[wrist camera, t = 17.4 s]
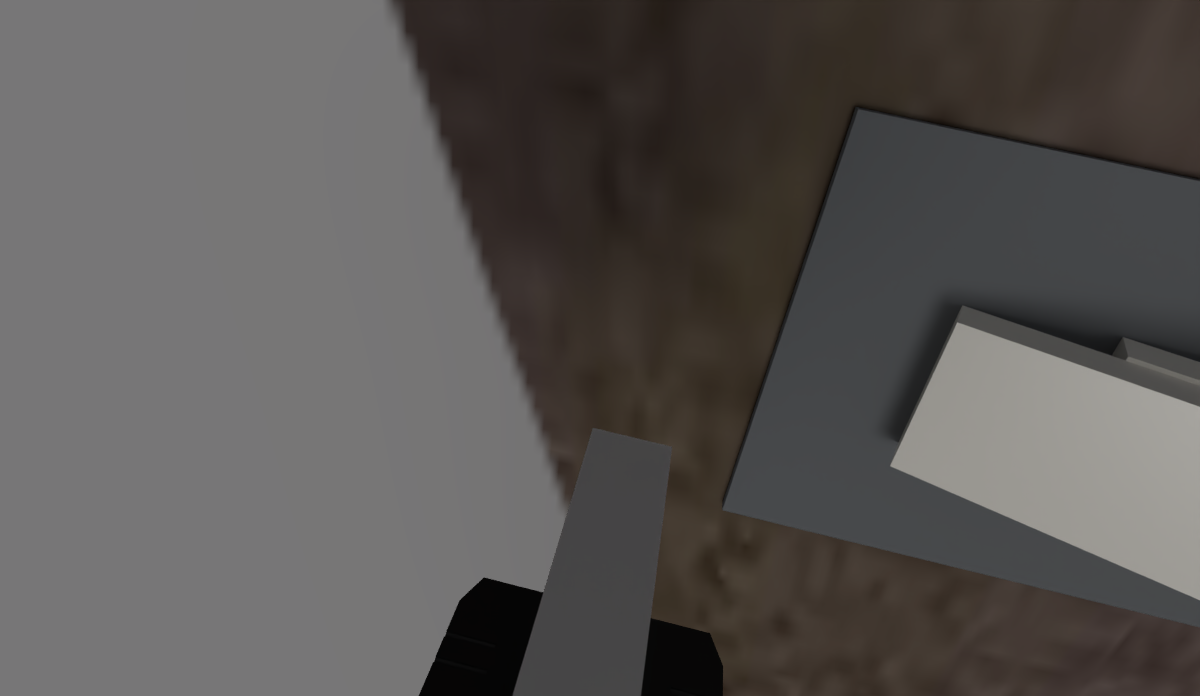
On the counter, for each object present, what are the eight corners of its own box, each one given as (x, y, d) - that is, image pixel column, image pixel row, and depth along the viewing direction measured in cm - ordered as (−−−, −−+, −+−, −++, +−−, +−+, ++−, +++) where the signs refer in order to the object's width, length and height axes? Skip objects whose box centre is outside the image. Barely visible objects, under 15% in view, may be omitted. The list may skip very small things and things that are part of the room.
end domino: (957, 322, 20) (1423, 484, 16) (962, 305, 21) (1394, 451, 17) (890, 465, 22) (1282, 636, 18) (898, 442, 23) (1266, 597, 20)
